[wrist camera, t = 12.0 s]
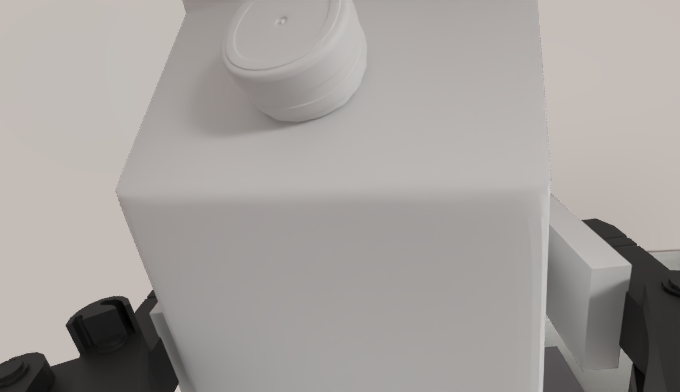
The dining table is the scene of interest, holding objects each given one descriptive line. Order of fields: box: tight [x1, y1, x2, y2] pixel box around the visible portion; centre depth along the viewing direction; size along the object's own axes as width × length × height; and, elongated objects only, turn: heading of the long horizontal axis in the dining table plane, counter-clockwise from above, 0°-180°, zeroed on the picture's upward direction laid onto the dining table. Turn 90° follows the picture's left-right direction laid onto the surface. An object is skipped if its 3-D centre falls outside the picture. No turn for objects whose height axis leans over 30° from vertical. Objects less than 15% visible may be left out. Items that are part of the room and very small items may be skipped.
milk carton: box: [116, 0, 551, 392], centre depth 11 cm, size 7×7×19 cm
